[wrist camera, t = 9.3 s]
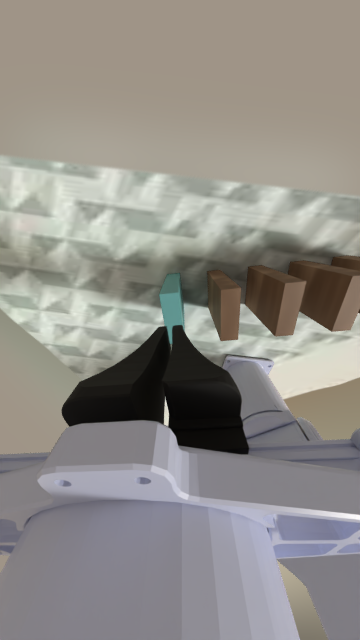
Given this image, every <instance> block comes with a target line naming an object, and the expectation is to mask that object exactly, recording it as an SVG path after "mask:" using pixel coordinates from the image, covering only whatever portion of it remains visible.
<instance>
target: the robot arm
mask: <svg viewBox="0 0 360 640" xmlns="http://www.w3.org/2000/svg"><path fill="white" fill-rule="evenodd" d="M228 360H229V361H228ZM273 365H274V362H273V361H272V360H265V359H257V358H248V357H239V356H230V355H228V356H226V358H225V361H224V364H223V366H222V368H221V367H219V366H217V365H215V364H214V363H212V362H211V361H209V360H208V359H207V358H206V357H204V356H203V355H202V354H201V353H200V352H199V351H198V350H197V349H196V348H195V347H194V346H193V344H192V343H191V342H190V340H189V339H188V337H187V336H186V334H185V332H184V329H183V326H182V325H174V326H173V328H172V350H171V347H170V341H169V335H168V329H167V326H163V327H158V328H157V330H156V331H155V332H154V333H153V334H152V335H151V336H150V337H149V338H148V339H147V340H146V341H145V342H144V343H143V344H142V345H141V346H140V347H139V348H138V349H137V350H136V351H134V352H133V353H132V354H130V355H129V356H128V357H126V358H125V359H123V360H122V361H120V362H119V363H117V364H115V365H114V366H112V367H110V368H108V369H107V370H105V371H103V372H101V373H99V374H97V375H94V376H92V377H90V378H88V379H85V380H83V381H81V382H79V384H78V385H77V387H76V388H75V389H74V391H73V392H72V394H71V395H70V396H69V398H68V399H67V400H66V402H65V403H64V405H63V407H62V416H63V418H64V419H65V421H66V423H67V424H68V425H69V427H68V428H66V429H65V431H64V432H63V433H62V434H61V436H60V437H59V439H58V441H57V443H56V444H55V446H54V447H53V449H52V451H51V452H47V453H24V454H1V455H0V555H7V556H9V558H8V560H7V562H6V564H5V566H4V568H3V569H2V571H1V573H0V640H300V638H299V635H298V631H297V628H296V624H295V621H294V617H293V614H292V611H291V607H290V604H289V600H288V597H287V593H286V590H285V587H284V583H283V580H282V576H281V573H280V570H279V567H278V563H277V560H278V561H279V562H280V563H281V564H282V565H283V566H285V567H286V568H287V569H288V570H289V571H291V572H292V573H293V574H294V575H295V576H296V577H297V578H298V579H299V580H301V582H302V583H303V584H304V585H305V586H306V588H307V590H308V592H309V595H310V597H311V599H312V602H313V604H314V607H315V609H316V611H317V614H318V616H319V618H320V621H321V624H322V626H323V628H324V631H325V633H326V635H327V638H328V640H360V428H359V429H357V430H355V431H354V432H353V434H352V436H351V439H341V440H323V439H322V437H321V436H320V435H319V433H318V432H317V430H316V429H315V427H314V426H313V425H312V423H311V422H310V421H308V420H306V419H304V418H303V417H299V418H297V420H298V421H297V420H296V418H295V417H294V416H293V415H292V413H291V412H290V410H289V408H288V407H287V405H286V404H285V402H284V400H283V399H282V397H281V395H280V394H279V392H278V391H277V389H276V387H275V386H274V384H273V383H272V381H271V379H270V378H269V376H268V374H269V372H270V371H271V369H272V367H273ZM165 397H166V401H167V406H168V410H169V425H168V426H166V425H164V406H165ZM298 422H299V423H298Z"/></svg>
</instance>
